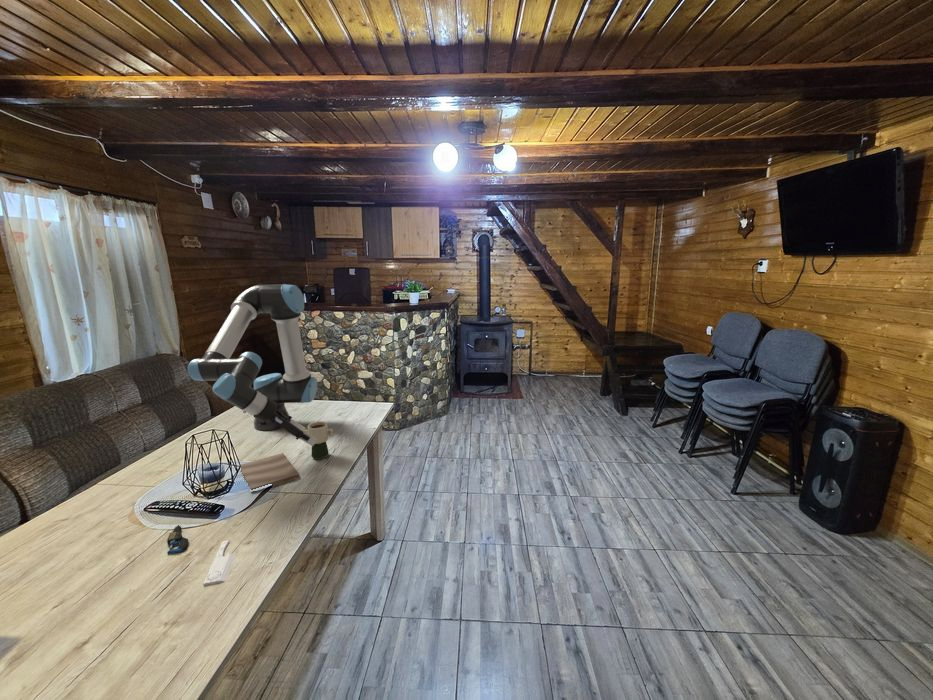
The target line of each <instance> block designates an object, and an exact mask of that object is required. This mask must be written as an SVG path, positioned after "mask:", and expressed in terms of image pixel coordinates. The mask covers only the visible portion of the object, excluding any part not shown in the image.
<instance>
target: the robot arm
mask: <svg viewBox="0 0 933 700" xmlns="http://www.w3.org/2000/svg"><path fill="white" fill-rule="evenodd" d="M304 310H305V298H304V295H303V292H302V290H301V289H300V288H299V287H298V286H297V285H294V284H286V283H281V284H280V283H279V284H278V283H277V284H257V285H253V286H251V287H249V288H247V289H245V290H244V291H242V292H241V293H240V294H239V295H238V296H236V298H235V299H234V301H233V302H232V304H231V305H230V313H229V314H228V316H227V317H226V318H225V320H224V322H223V323H222V326H221V327H220V329H219V331H218V332H217V334H216V335H215V337H214V338H213V340H212V342H211V343H210V345H209V347H208V348H207V349H206V351H205V353H204V355H203V356H202V357H201V358H200V357H199V358H194V359H191V361H190V362H189V363H188V366H187V375H188V376H189V377H190V379H191V380H194V381H200V382H201V381H202V382H207V381H211V382H212V381H214V382H215V383H213V386H212V392H213V394H215V395H216V396H218V397H219V398H220V399H222V400H224V401H225V402H227V403H229V404H231V405H232V406H234V407H236V408H238V409H240V410H242V413H243V414H246V413H247V414H248V415H250V416H253V418H254V419H253V427H254V429H255V430H257V431H273V430H277V429H281V428H282V429H284V430H285V431H286V432H288V433H289V434H291V435H292V436H293V437H295V440H297V441H298V439H299V440H301V441H303V442H305V443H306V444H308V445H310V446H311V447H312V446H313V445H314V444H315V443H316V442H317V439H316V438H314V437H313V436H311V435H309V434H308V432H304V431H303V430H307V428H306V427H305V426H303V425H302V424H300V423H299V422H297V421H295V420H294V419H292V418H293V417H292V416H291V415H290V414H289V412H288V410H287V408H286V405H285V404H296V403H297V404H304V403H311V402H312V401H314V399H315V397H316V395H317V392H318V380H317V377H315V376H312V374H311V371H310V370H308V369H307V366H306V360H305V353H304V349H303V343H302V342H303V341H302V336H301V331H300V330H301V329H300V325H299V318H300V317H301V316H302V313H303V312H304ZM260 314H270V319H271V320H272V321H274V322H275V324H276V329H277V335H278V340H279V344H280V350H281V356H282V362H283V366H284V372H285V373H284V374H283V375H282V373H279V372H273V373H269V374H264V375H261V376H258V375H259V372H260V370H261V367H262V365H263V359H262V358H261V356H260V355H258V354H257V353H255V352H252V351H245V352H243V353H241V354H240V355H239V357H238V358H231V357H232V355H233V353H234V352H235V350H236V348H237V346H238V344H239V342H240V341H241V339H242V337H243V335H244V333H245V331H246V329H247V328H248V327H249V324H250V322H252V321H253V320H255V319H256V318H257V316H258V315H260ZM257 376H258V377H257ZM252 385H253V387H252Z"/></svg>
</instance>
